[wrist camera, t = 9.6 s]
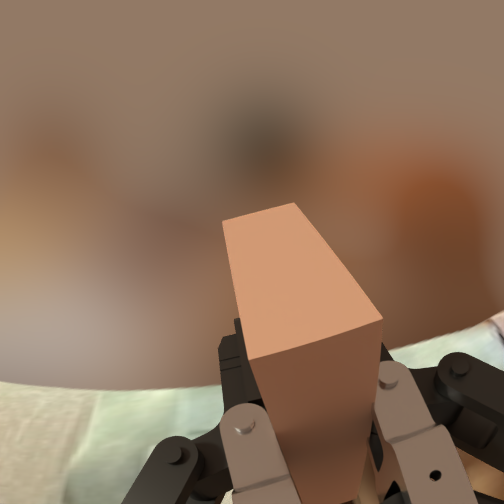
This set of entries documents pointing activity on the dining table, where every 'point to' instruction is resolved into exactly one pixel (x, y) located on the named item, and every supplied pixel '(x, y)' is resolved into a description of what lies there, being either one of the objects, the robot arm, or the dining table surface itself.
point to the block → (307, 347)
